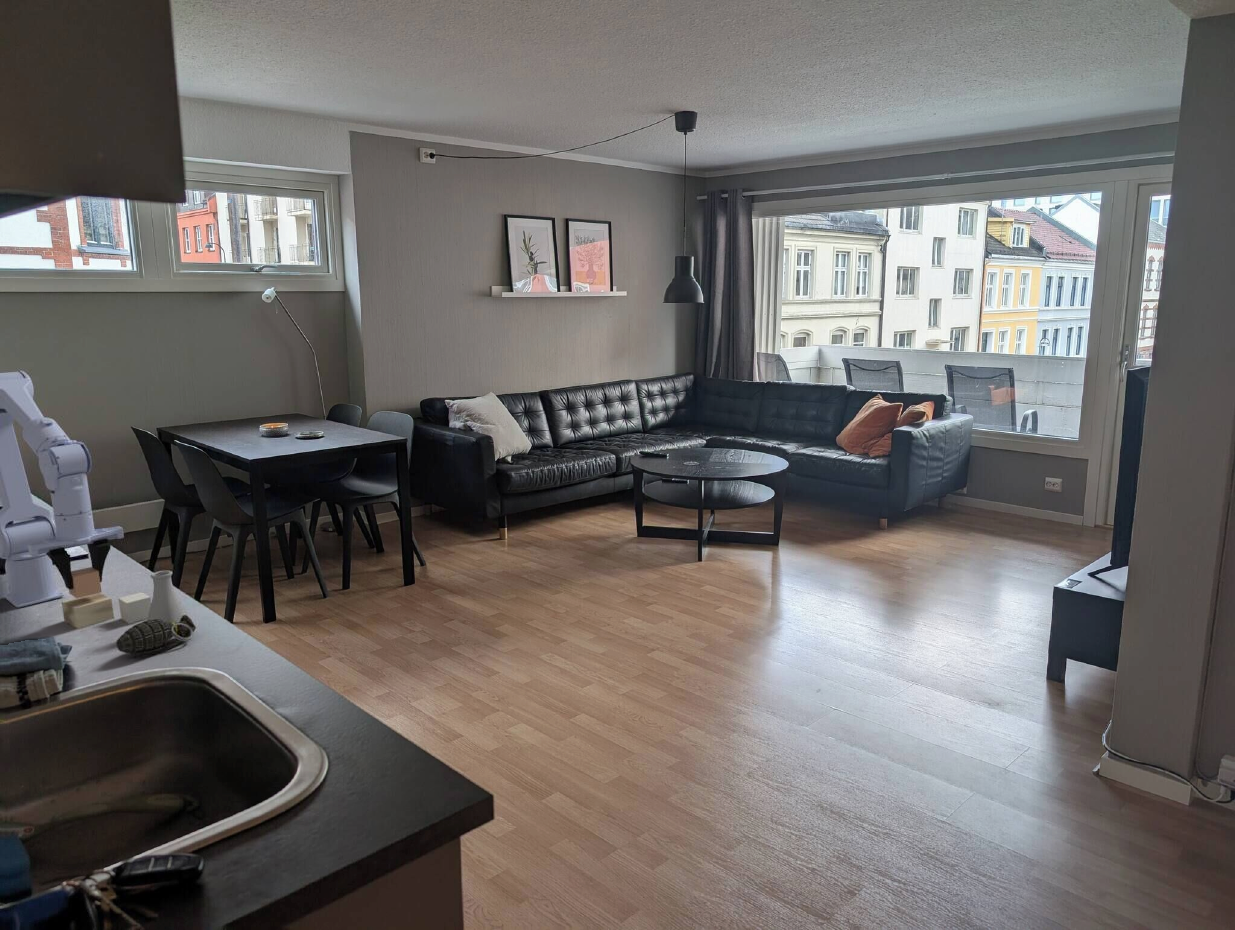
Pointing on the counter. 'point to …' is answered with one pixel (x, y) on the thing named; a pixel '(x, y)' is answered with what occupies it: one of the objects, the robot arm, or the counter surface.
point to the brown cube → (85, 582)
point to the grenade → (154, 636)
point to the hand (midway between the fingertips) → (84, 584)
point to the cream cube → (135, 607)
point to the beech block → (87, 610)
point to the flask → (165, 599)
